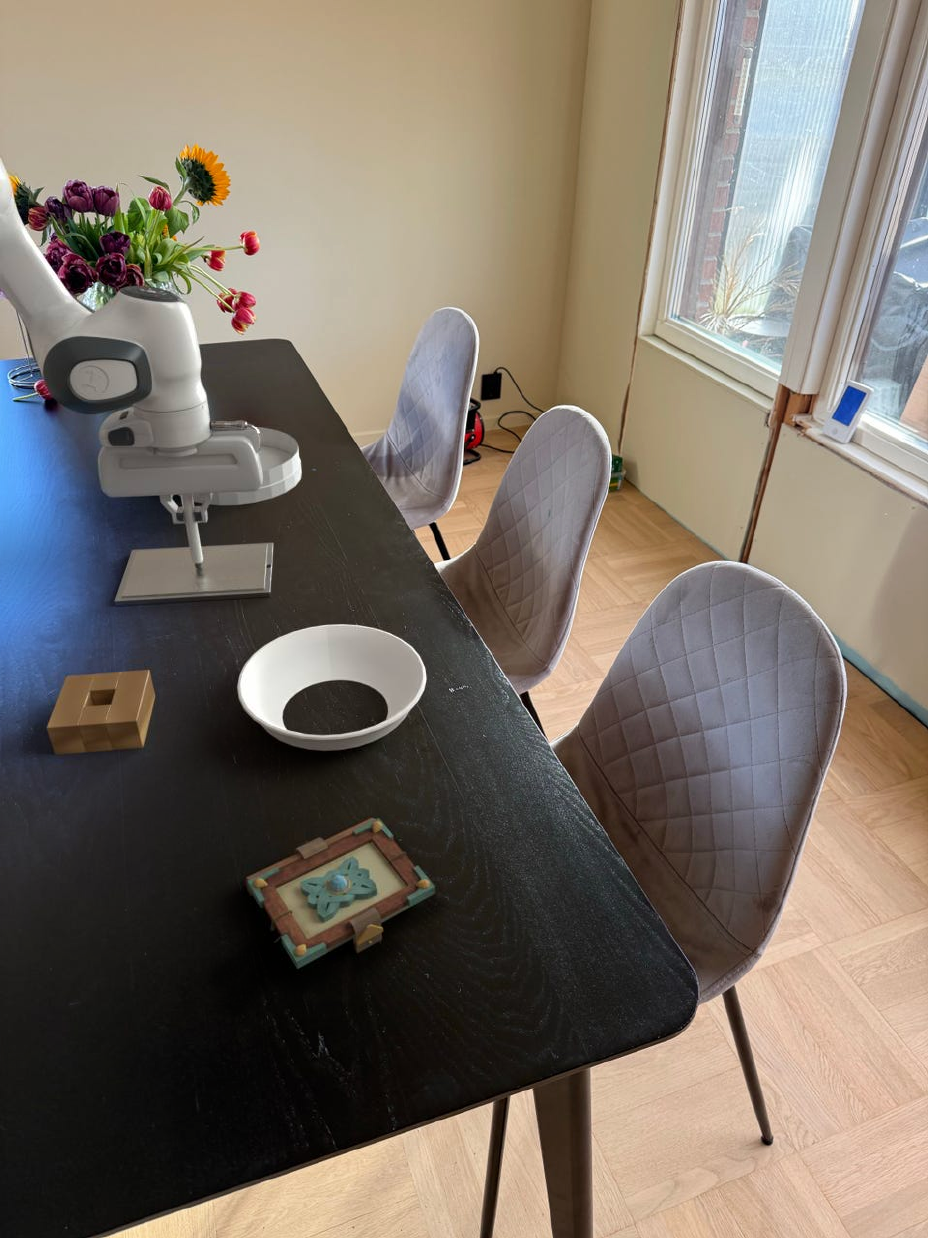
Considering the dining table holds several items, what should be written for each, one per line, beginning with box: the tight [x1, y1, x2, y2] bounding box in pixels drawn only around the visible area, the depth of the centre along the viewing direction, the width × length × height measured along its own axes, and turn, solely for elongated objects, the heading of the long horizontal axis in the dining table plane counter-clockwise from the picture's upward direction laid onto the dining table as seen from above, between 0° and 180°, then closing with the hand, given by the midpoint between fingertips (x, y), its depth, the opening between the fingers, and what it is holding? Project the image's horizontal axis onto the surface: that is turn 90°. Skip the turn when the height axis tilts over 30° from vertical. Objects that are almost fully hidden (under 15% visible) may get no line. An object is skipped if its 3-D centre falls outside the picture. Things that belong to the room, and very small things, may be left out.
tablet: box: [114, 542, 275, 607], centre depth 119 cm, size 20×14×1 cm
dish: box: [178, 426, 303, 506], centre depth 146 cm, size 22×22×5 cm
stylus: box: [180, 494, 203, 569], centre depth 116 cm, size 2×2×12 cm
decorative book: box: [245, 817, 436, 970], centre depth 70 cm, size 13×18×5 cm
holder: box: [46, 669, 156, 756], centre depth 90 cm, size 9×9×5 cm
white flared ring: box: [236, 623, 427, 752], centre depth 92 cm, size 20×20×6 cm
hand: (190, 521), depth 115 cm, fingers closed on stylus, 1 cm apart
